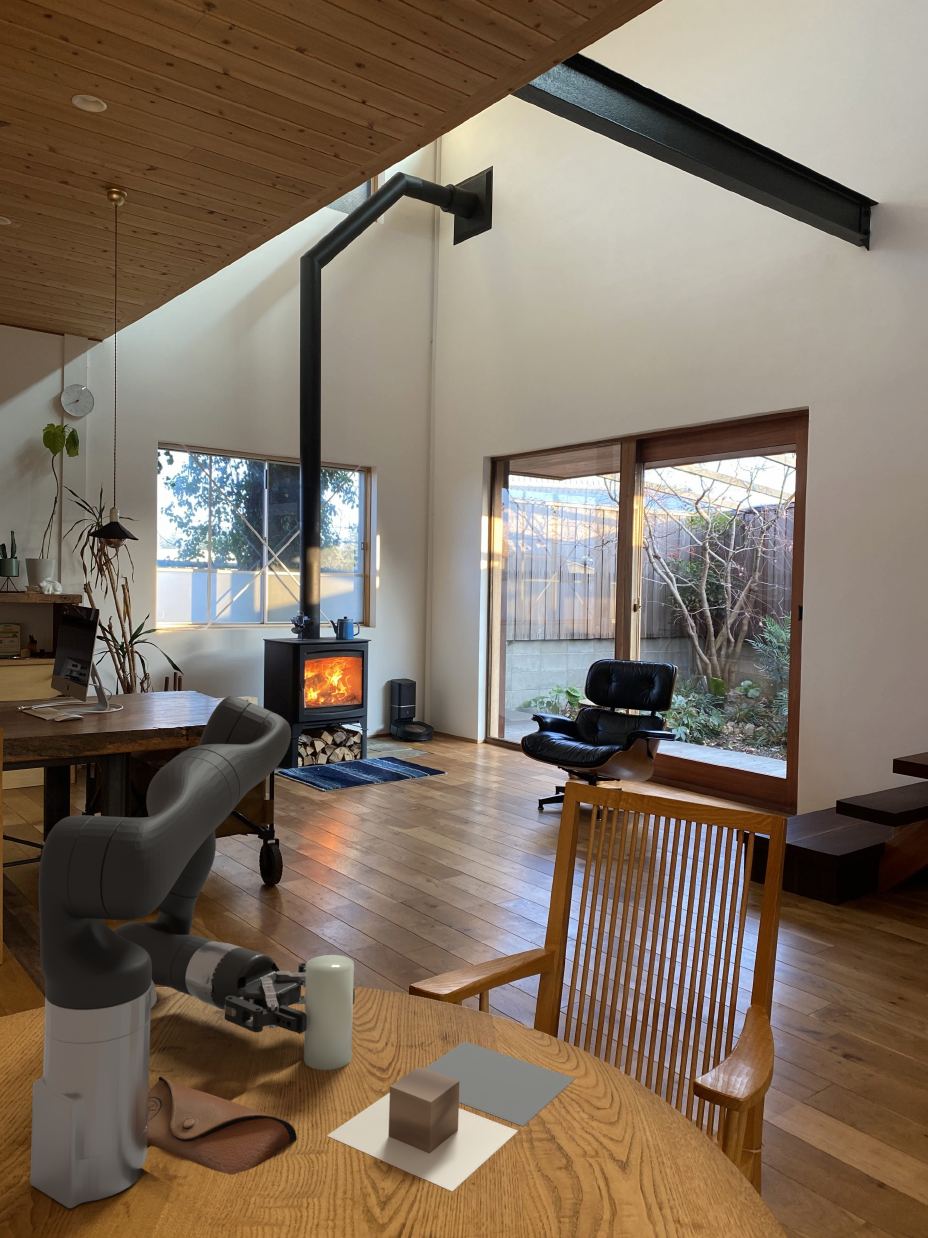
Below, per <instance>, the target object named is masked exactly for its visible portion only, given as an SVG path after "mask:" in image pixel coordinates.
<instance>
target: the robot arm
mask: <svg viewBox="0 0 928 1238" xmlns="http://www.w3.org/2000/svg"><path fill="white" fill-rule="evenodd" d="M291 738H292V730H291V726H290V724H289V722H288V721H287V720H286V719H285V718H283V716H281V715H279V714H278V713H275V712H273V711H272V710H269V709H267V708H264V707H262V706H260V705H257V704H255V703H253V702H251V701H248V700H246V699H244V698H241V697H238V696H236V695H229V696H227V697H226V696H225V698H223V699H222V700H221V701H220V702H219V703H218V704H217V705H216V707H215V708H214V710H213V711H212V712H211V714H210V716H209V718H208V721H207V723H206V725H205V727H204V729H203V732H202V734H201V737H200V739H199V743H198V745H197V746H194V747H190V748H188V749H186V750H184V751H181V752H180V753H179V754H177V755H176V756H175V757H173V758H172V759H171V760H170V761H169V762H168V761H167V763H166V764H165V765H164V766H162V767H161V768H160V769H159V770H158V771H157V772H156V774H155V775H154V776H153V778H152V779H151V781H150V783H149V785H148V788H147V790H146V801H145V802H146V809H147V814H148V816H147V817H146V816H145V817H128V816H127V817H126V816H125V817H124V816H123V817H122V816H107V815H106V816H104V815H88V814H87V815H82V814H81V815H69V816H66V817H64V818H62V819H60V820H59V821H58V822H57V823H55V824H54V826H53V827H52V829H51V830H50V831H49V832H48V835H47V838H46V839H45V841H44V844H43V848H42V852H41V856H40V860H39V868H38V869H39V871H38V872H39V873H38V909H39V911H38V912H39V940H40V944H39V947H40V952H39V953H40V955H39V956H40V968H41V971H42V975H43V978H44V980H45V981H44V982H45V985H44V987H45V991H44V993H45V994H44V995H45V997H44V998H45V999H44V1029H43V1030H44V1032H43V1035H44V1037H43V1065H42V1066H43V1068H42V1077H40V1078H38V1079H36V1080H35V1081H34V1082H33V1084H32V1103H31V1105H32V1107H31V1108H32V1109H31V1115H32V1116H31V1145H30V1146H31V1148H30V1150H31V1151H30V1183H29V1185H31V1186H32V1187H34V1188H36V1190H38V1191H41V1192H42V1193H44V1194H45V1195H47V1196H48V1197H50V1198H52V1199H54V1201H56V1202H58V1203H60V1204H62V1206H64V1207H66V1208H68V1209H73V1208H75V1207H76V1206H78V1205H80V1204H82V1203H87V1202H94V1201H98V1200H102V1199H105V1198H108V1197H109V1198H110V1197H111V1196H114V1195H116V1194H118V1193H121V1192H122V1191H124V1190H126V1189H127V1188H130V1187H131V1186H133V1184H135V1183H136V1182H137V1181H138V1180H139V1178H141V1177H142V1175H143V1174H144V1172H145V1169H144V1168H143V1166H144V1165H145V1163H146V1160H147V1156H148V1155H147V1154H148V1153H147V1152H148V1148H147V1128H148V1093H149V1088H150V1087H149V1084H150V1083H149V1081H150V1079H149V1078H150V1050H151V1049H150V1045H151V1044H150V1043H151V1012H152V1010H151V1009H152V1008H151V980H152V981H153V983H154V985H155V986H157V985H158V986H162V987H163V986H164V987H167V988H171V989H173V990H175V991H177V992H180V993H183V994H184V995H188V996H191V997H193V998H195V999H197V1000H198V1001H201V1002H202V1003H204V1004H206V1005H208V1006H212V1007H214V1008H216V1009H220V1010H223V1011H224V1020H225V1021H227V1022H229V1023H231V1024H234V1025H237V1026H239V1027H241V1028H243V1029H246V1030H248V1031H250V1032H253V1033H261V1032H263V1031H264V1027H267V1028H269V1029H276V1028H277V1027H279V1028H281V1029H285V1030H287V1031H290V1032H293V1033H297V1034H304V1033H305V1031H306V1029H307V1015H306V1014H305V1011H302V1010H299V1009H296V1008H293V1007H290V1006H292V1005H305V995H302V988H303V989H304V988H305V989H306V963H307V962H301V963H298V970H297V971H295V972H292V971H290V970H280V969H279V967H278V966H277V963H276V962H275V961H274V959H273V958H272V957H271V956H270V955H267V954H266V953H261V952H259V951H254V950H252V949H249V948H245V947H242V946H238V945H235V944H231V943H227V942H222V941H220V942H219V941H215V940H212V939H209V938H205V937H203V936H198V935H193V934H191V931H192V930H191V929H192V924H193V920H194V919H193V918H194V912H195V906H196V902H197V900H198V898H199V896H200V893H201V891H202V889H203V887H204V886H205V883H206V881H207V878H208V876H209V874H210V872H211V870H212V867H213V865H214V861H215V857H216V849H217V848H216V847H217V840H216V829H217V828H218V827H220V825H221V824H222V823H224V821H225V820H226V819H227V818H228V817H229V815H231V813H232V812H233V811H234V809H235V808H236V807H237V805H238V804H240V802H241V801H242V799H243V798H244V797H245V796H246V795H247V793H249V792H250V791H251V790H253V789H254V788H255V787H256V786H257V785H258V784H260V783H261V782H262V781H264V780H265V779H266V778H267V777H269V776H270V775H271V774H272V773H273V772H274V771H275V770H276V768H277V767H278V766H279V764H280V763H281V762H282V761H283V759H284V757H285V755H286V754H287V751H288V749H289V747H290V743H291ZM154 911H158V915H157V918H156V920H155V921H133V920H137V919H138V920H139V919H142V918H145V917H147V916H149V915H151V914H152V912H154ZM104 920H110V921H128V922H125V923H122V924H120V925H119V926H117V927H116V928H115V929H113V930H112V929H111V927H110V926H108V925H107V923H106V922H105V921H104ZM129 921H130V922H129ZM355 997H356V996H355V988H353V1006H354V1005H355V1001H356V1000H355Z"/></svg>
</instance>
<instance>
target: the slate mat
mask: <svg viewBox="0 0 928 1238" xmlns="http://www.w3.org/2000/svg"><path fill="white" fill-rule="evenodd" d="M424 1068H425V1069H428V1070H431V1071H434V1072H436V1073H439V1074H442V1075H445V1076H447V1077H450V1078H453V1079H455V1080H458V1081H460V1082H459V1103H460V1104H461V1105H465V1106H467V1107H470V1108H473V1109H475V1110H478V1111H480V1112H484V1113H485V1114H488V1115H491V1116H494V1117H496V1118H498V1119H501V1120H503V1121H507V1122H509V1123H513V1124H514V1125H517V1126H520V1127H521V1128H522V1127H525V1126H526V1125H527V1124H528V1123H529V1122H530V1121H531V1120H532V1119H533V1118H535V1116H537V1115H538V1114H539V1113H540V1112H541V1111H542V1110H543V1109H544V1108H545V1107H546V1106H547V1105H549V1104H550V1103H551V1102H552V1101H553V1100H554V1099H555V1098H556V1097H557V1096H559V1094H560V1093H562V1092H564V1090H565V1089H566V1088H567V1087H568V1086H569V1085H571V1084H572V1082H574V1081H575V1080H576V1078H575V1077H572V1076H569V1075H567V1074H563V1073H561V1072H558V1071H554V1070H551V1069H549V1068H546V1067H542V1066H541V1065H540V1066H539V1065H537V1064H533V1063H532V1062H531V1063H530V1062H528V1061H524V1060H522V1059H518V1058H515V1057H514V1056H513V1057H512V1056H510V1055H506V1054H504V1053H501V1052H497V1051H495V1050H491V1049H489V1048H485V1047H483V1046H481V1045H477V1044H474V1043H471V1042H468V1041H463V1042H461V1043H460V1044H458V1045H457V1046H455V1047H454V1048H452V1049H451V1050H449V1051H448V1052H446V1053H445V1054H444V1055H442V1056H441V1057H439V1058H438V1059H436V1060H435V1061H433V1062H432V1063H430V1064H429V1065H428V1066H426V1067H424Z"/></svg>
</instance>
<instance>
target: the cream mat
mask: <svg viewBox="0 0 928 1238" xmlns="http://www.w3.org/2000/svg"><path fill="white" fill-rule="evenodd" d="M389 1102H390V1092H388V1093H387V1094H385V1095H384V1096H383V1097H380V1098H379V1099H377V1101H375V1102H373V1103H372V1104H370V1105H369V1106H368V1107H366V1108H365V1109H364V1110H362V1111H360V1112H359V1113H357V1114H356V1115H355V1116H353V1117H351V1118H350V1119H349V1120H347V1121H346V1122H344V1123H343V1124H342V1125H340V1126H339V1127H337V1128H336V1129H334V1130H333V1131H331V1132H330V1133H329V1134H327V1135H326V1137H328V1138H330V1139H333V1140H335V1141H337V1142H339V1143H341V1144H344V1145H346V1146H349V1147H351V1148H353V1149H356V1150H358V1151H360V1152H362V1153H364V1154H366V1155H369V1156H371V1157H373V1158H376V1159H377V1160H380V1161H383V1162H384V1163H387V1164H388V1165H391V1166H394V1167H396V1168H398V1169H400V1170H402V1171H405V1172H407V1173H409V1174H411V1175H414V1176H415V1177H419V1178H420V1179H423V1180H425V1181H427V1182H429V1183H431V1184H433V1185H436V1186H438V1187H440V1188H442V1189H445V1190H447V1191H449V1192H454V1191H455V1190H456V1189H457V1188H459V1186H461V1184H463V1183H464V1182H465V1181H466V1180H467V1179H468V1178H469V1177H470V1176H471V1175H472V1174H474V1173H475V1172H476V1171H477V1170H478V1169H479V1168H480V1167H481V1166H482V1165H483V1164H484V1163H485V1162H487V1160H488V1159H490V1158H491V1157H492V1156H493V1155H494V1154H495V1153H496V1152H498V1150H500V1149H501V1147H503V1146H504V1145H505V1144H506V1143H507V1142H508V1141H510V1139H511V1138H513V1137H514V1136H515V1135H516V1134H517V1133H519V1131H518V1129H514V1128H512V1127H509V1126H506V1125H503V1123H502V1124H501V1123H499V1122H497V1121H494V1120H490V1119H488V1118H486V1117H483V1116H482V1115H481V1116H480V1115H478V1114H476V1113H473V1112H471V1111H467V1110H465V1109H462V1108H461V1107H459V1115H458V1131H456V1132H455V1133H454V1134H453V1135H451V1136H450V1137H449V1138H448V1139H447V1140H445V1141H444V1142H443V1143H442V1144H441V1145H439V1146H438V1147H437V1148H436V1149H435V1150H433V1151H432V1152H431V1153H430V1154H429V1153H427V1152H424V1151H422V1150H420V1149H417V1148H415V1147H413V1146H410V1145H408V1144H406V1143H403V1142H401V1141H398V1140H396V1139H394V1138H391V1137H389V1136H388V1135H389Z"/></svg>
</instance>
